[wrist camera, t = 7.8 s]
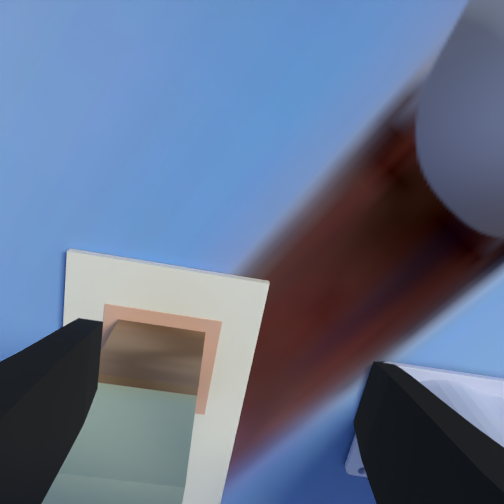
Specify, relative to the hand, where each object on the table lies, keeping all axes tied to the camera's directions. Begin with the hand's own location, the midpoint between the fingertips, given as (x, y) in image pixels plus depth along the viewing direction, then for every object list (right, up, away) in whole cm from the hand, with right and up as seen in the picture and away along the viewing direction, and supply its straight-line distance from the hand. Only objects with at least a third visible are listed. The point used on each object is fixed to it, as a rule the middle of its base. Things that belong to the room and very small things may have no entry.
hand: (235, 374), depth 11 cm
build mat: (-5, -5, +13) cm, 15 cm away
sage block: (-5, -5, +7) cm, 10 cm away
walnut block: (-5, -3, +11) cm, 13 cm away
